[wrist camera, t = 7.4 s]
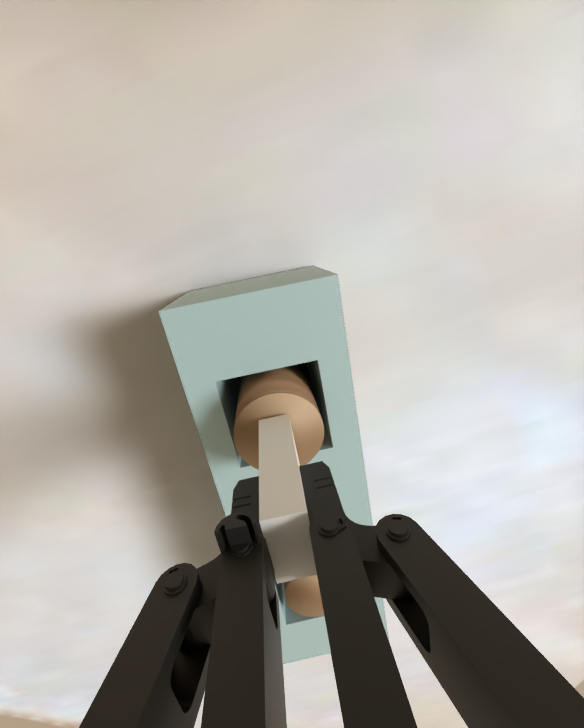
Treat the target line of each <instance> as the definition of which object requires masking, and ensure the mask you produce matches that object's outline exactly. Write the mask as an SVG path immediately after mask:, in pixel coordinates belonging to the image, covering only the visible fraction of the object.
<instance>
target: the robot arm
mask: <svg viewBox="0 0 584 728" xmlns="http://www.w3.org/2000/svg"><path fill="white" fill-rule="evenodd" d="M214 533H215V536H216V539H217V542H218V545H219V548H220V550H221V554H220V555H219V556H218V557H216V558H215V559H214V560H212V561H211V562H209V563H207V564H205V565H203V566H202V567H200V568H198V569H196V568H195V567H194V566H193V565H192V564H187V563H182V564H177V565H175V566H173V567H171V568H169V569H168V570H167V571H166V572H164V573H163V574H162V575H161V576H160V578H159V579H158V580H157V582H156V583H155V585H154V587H153V589H152V591H151V593H150V595H149V596H148V598H147V600H146V602H145V604H144V606H143V608H142V610H141V612H140V613H139V615H138V617H137V619H136V621H135V623H134V625H133V627H132V629H131V630H130V632H129V634H128V636H127V638H126V640H125V642H124V644H123V646H122V647H121V649H120V651H119V653H118V655H117V657H116V659H115V661H114V663H113V664H112V666H111V668H110V670H109V672H108V674H107V676H106V678H105V680H104V681H103V683H102V685H101V687H100V689H99V691H98V693H97V695H96V697H95V698H94V700H93V702H92V704H91V706H90V708H89V710H88V712H87V714H86V715H85V717H84V719H83V721H82V723H81V725H80V727H79V728H194V725H195V721H196V718H197V715H198V711H199V708H200V705H201V701H202V698H203V695H204V691H205V697H204V706H203V714H202V723H201V728H287V724H286V709H285V693H284V677H283V661H282V646H281V630H280V614H279V600H278V596H277V593H276V589H275V578H276V582H277V584H278V583H283V582H287V581H291V580H296V579H300V578H304V577H309V576H313V575H317V577H318V583H319V589H320V594H321V600H322V605H323V611H324V617H325V622H326V628H327V633H328V639H329V645H330V650H331V656H332V661H333V667H334V673H335V678H336V684H337V689H338V695H339V701H340V706H341V712H342V717H343V723H344V728H417V725H416V722H415V719H414V716H413V713H412V710H411V707H410V704H409V701H408V698H407V695H406V692H405V689H404V686H403V683H402V680H401V677H400V674H399V671H398V668H397V665H396V662H395V659H394V656H393V653H392V650H391V647H390V643H389V640H388V637H387V634H386V631H385V628H384V625H383V622H382V619H381V616H380V613H379V610H378V607H377V604H376V601H375V598H374V597H378V598H386V599H387V602H388V603H389V605H390V606H391V608H392V609H393V611H394V612H395V614H396V616H397V617H398V619H399V620H400V622H401V623H402V625H403V626H404V628H405V630H406V631H407V633H408V634H409V636H410V637H411V639H412V640H413V642H414V644H415V645H416V647H417V648H418V650H419V651H420V653H421V654H422V656H423V658H424V659H425V661H426V662H427V664H428V665H429V667H430V668H431V670H432V672H433V673H434V675H435V676H436V678H437V679H438V681H439V683H440V684H441V686H442V687H443V689H444V690H445V692H446V693H447V695H448V697H449V698H450V700H451V701H452V703H453V704H454V706H455V707H456V709H457V711H458V712H459V714H460V715H461V717H462V718H463V720H464V721H465V723H466V725H467V726H468V728H584V698H583V697H582V696H581V695H580V694H579V693H578V692H577V691H576V690H575V689H574V687H573V686H572V685H571V684H570V683H569V682H568V681H567V680H566V679H565V678H564V677H563V676H562V675H561V674H560V673H559V672H558V671H557V670H556V669H555V668H554V666H553V665H552V664H551V663H550V662H549V661H548V660H547V659H546V658H545V657H544V656H543V655H542V654H541V653H540V652H539V651H538V650H537V649H536V648H535V647H534V645H533V644H532V643H531V642H530V641H529V640H528V639H527V638H526V637H525V636H524V635H523V634H522V633H521V632H520V631H519V630H518V629H517V628H516V627H515V626H514V624H513V623H512V622H511V621H510V620H509V619H508V618H507V617H506V616H505V615H504V614H503V613H502V612H501V611H500V610H499V609H498V608H497V607H496V606H495V605H494V603H493V602H492V601H491V600H490V599H489V598H488V597H487V596H486V595H485V594H484V593H483V592H482V591H481V590H480V589H479V588H478V587H477V586H476V585H475V584H474V582H473V581H472V580H471V579H470V578H469V577H468V576H467V575H466V574H465V573H464V572H463V571H462V570H461V569H460V568H459V567H458V566H457V565H456V564H455V563H454V561H453V560H452V559H451V558H450V557H449V556H448V555H447V554H446V553H445V552H444V551H443V550H442V549H441V548H440V547H439V546H438V545H437V544H436V543H435V542H434V540H433V539H432V538H431V537H430V536H429V535H428V534H427V533H426V532H425V531H424V530H423V529H422V528H421V527H420V526H419V525H418V524H417V523H416V522H415V521H414V520H412V519H411V518H410V517H407V516H404V515H401V514H391V515H388V516H385V517H383V518H382V519H380V520H379V522H378V523H377V525H376V526H368V525H360V524H358V523H355V522H353V521H352V520H350V519H349V518H348V517H347V516H346V515H345V513H344V510H343V507H342V504H341V501H340V498H339V495H338V492H337V489H336V486H335V483H334V480H333V477H332V474H331V471H330V468H329V467H328V466H327V465H326V464H325V463H324V462H323V461H320V462H315V463H311V464H306V465H302V466H300V464H299V459H298V455H297V450H296V446H295V441H294V436H293V432H292V427H291V423H290V418H289V414H285V415H280V416H276V417H271V418H267V419H262V420H259V476H256V477H252V478H247V479H243V480H239V481H238V483H237V484H236V486H235V488H234V489H233V497H232V509H231V515H228V516H227V517H225V518H224V519H223V520H221V522H220V523H219V524H218V525H217V527H216V530H215V532H214Z"/></svg>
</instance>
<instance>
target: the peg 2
mask: <svg viewBox="0 0 584 728" xmlns="http://www.w3.org/2000/svg"><path fill="white" fill-rule="evenodd" d="M284 588H285V599H286V603H287V605H288V606H289V608H290V609H291V610H292V611H294V612H295V613H297V614H299V615H303V616H308V617H319V616H324V611H323V605H322V600H321V594H320V589H319V583H318V577H317V575H313V576H309V577H304V578H300V579H296V580H291V581H287V582H284Z"/></svg>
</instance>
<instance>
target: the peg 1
mask: <svg viewBox="0 0 584 728" xmlns="http://www.w3.org/2000/svg"><path fill="white" fill-rule="evenodd" d="M285 414H289V418H290V423H291V427H292V432H293V436H294V441H295V446H296V450H297V455H298V459H299V464H300V466H302V465H306V464H307V463H309V462H310V461H311V460H312V459H313V458H314V457H315V456H316V454H317V453H318V451H319V450H320V448H321V446H322V443H323V439H324V424H323V421H322V418H321V415H320V412H319V410H318V407H317V404H316V402H315V399H314V396H313V394H312V391H311V388H310V385H309V383H308V380H307V377H306V375H305V372H304V369H303V367H302V364H297V365H292V366H287V367H282V368H278V369H273V370H268V371H264V372H259V373H254V374H250V375H245V376H241V379H240V387H239V395H238V402H237V410H236V418H235V425H234V443H235V447H236V449H237V451H238V453H239V455H240V456H241V457H242V459H243V460H244V461H245V462H246V463H248V464H249V465H250V466H252V467H254V468H256V469H258V470H259V420H262V419H267V418H271V417H276V416H280V415H285Z"/></svg>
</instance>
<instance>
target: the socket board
mask: <svg viewBox="0 0 584 728" xmlns="http://www.w3.org/2000/svg"><path fill="white" fill-rule="evenodd" d="M158 312H159V315H160V318H161V321H162V324H163V327H164V330H165V333H166V336H167V339H168V342H169V345H170V348H171V351H172V354H173V357H174V361H175V364H176V367H177V370H178V373H179V376H180V379H181V382H182V385H183V388H184V391H185V394H186V397H187V400H188V403H189V406H190V409H191V412H192V415H193V418H194V421H195V424H196V427H197V430H198V433H199V436H200V439H201V442H202V446H203V449H204V452H205V455H206V458H207V461H208V464H209V467H210V470H211V473H212V476H213V479H214V482H215V485H216V488H217V491H218V494H219V497H220V500H221V503H222V506H223V509H224V512H225V515H226V517H227V516H228V515H231V509H232V497H233V489H234V488H235V486H236V484H237V483H238V481H239V480H243V479H247V478H252V477H256V476H259V470H258V469H256V468H254V467H252V466H250V465H249V464H248V463H246V462H245V461H244V460H243V459H242V457H241V456H240V455H239V453H238V451H237V449H236V447H235V443H234V425H235V418H236V410H237V402H238V395H239V387H240V386H239V382H238V378H237V377H240V376H245V375H250V374H254V373H259V372H264V371H268V370H273V369H278V368H282V367H287V366H292V365H297V364H301V363H306V362H307V365H308V370H309V376H310V381H311V386H312V392H313V393H312V394H313V396H314V399H315V402H316V404H317V407H318V410H319V412H320V415H321V418H322V421H323V424H324V439H323V443H322V446H321V448H320V450H319V451H318V453H317V454H316V456H315V457H314V458H313V459H312V460H311V461H310V462H309V463H307V464H311V463H315V462H320V461H323V462H324V463H325V464H326V465H327V466H328V467H329V468H330V471H331V474H332V477H333V480H334V483H335V486H336V489H337V492H338V495H339V498H340V501H341V504H342V507H343V510H344V513H345V515H346V516H347V517H348V518H349V519H350V520H352V521H353V522H355V523H358V524H360V525H368V526H373V524H372V516H371V509H370V502H369V495H368V488H367V481H366V473H365V466H364V459H363V452H362V445H361V438H360V430H359V423H358V416H357V409H356V402H355V395H354V387H353V380H352V373H351V366H350V359H349V352H348V344H347V337H346V330H345V323H344V316H343V309H342V301H341V294H340V287H339V280H338V274H335V273H332V272H330V271H327V270H324V269H321V268H318V267H316V266H308V267H304V268H299V269H294V270H289V271H284V272H279V273H274V274H269V275H265V276H260V277H255V278H250V279H245V280H240V281H235V282H231V283H226V284H221V285H216V286H211V287H206V288H201V289H196V290H192V291H189V292H187V293H186V294H184V295H182V296H181V297H179V298H178V299H176V300H175V301H173V302H172V303H170V304H169V305H167V306H166V307H164V308H163V309H161V310H160V311H158ZM275 589H276V593H277V596H278V600H279V614H280V630H281V646H282V661H283V664H286V663H290V662H294V661H298V660H303V659H307V658H311V657H315V656H320V655H324V654H328V653H331V650H330V645H329V639H328V633H327V628H326V622H325V617H324V616H319V617H308V616H303V615H299V614H297V613H295V612H294V611H292V610H291V609H290V608H289V606H288V605H287V603H286V599H285V588H284V582H283V583H278V584H277V582H276V578H275ZM374 598H375V601H376V604H377V607H378V610H379V613H380V616H381V619H382V622H383V625H384V628H385V631H386V634H387V637H388V631H387V624H386V617H385V610H384V602H383V598H378V597H374ZM388 639H389V638H388Z"/></svg>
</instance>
